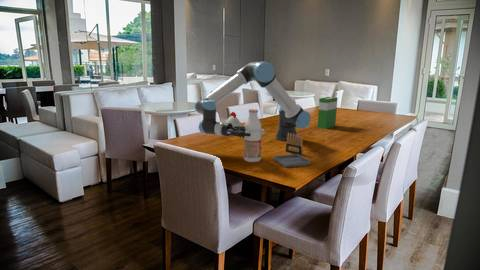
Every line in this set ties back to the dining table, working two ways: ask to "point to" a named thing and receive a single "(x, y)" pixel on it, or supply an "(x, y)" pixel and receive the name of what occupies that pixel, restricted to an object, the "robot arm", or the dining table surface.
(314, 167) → the dining table surface
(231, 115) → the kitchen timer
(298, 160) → the tray
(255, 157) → the white milk bottle
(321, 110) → the green white box
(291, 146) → the ammunition clip
